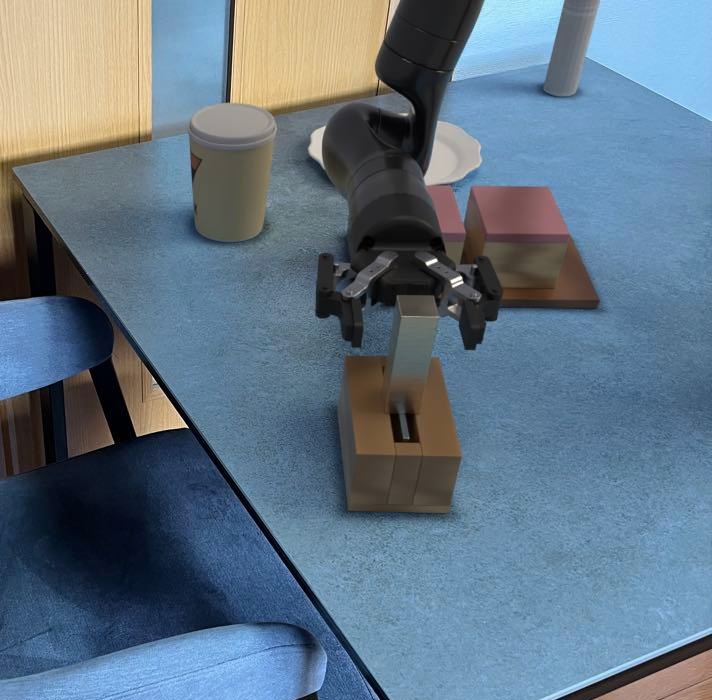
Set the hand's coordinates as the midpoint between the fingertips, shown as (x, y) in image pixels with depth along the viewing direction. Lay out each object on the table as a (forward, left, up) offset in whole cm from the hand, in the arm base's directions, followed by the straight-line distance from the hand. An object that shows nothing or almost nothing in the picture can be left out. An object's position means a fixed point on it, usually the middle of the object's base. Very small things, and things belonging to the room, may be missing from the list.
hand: (415, 339), depth 77 cm
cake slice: (-7, -32, -12) cm, 35 cm away
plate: (-6, -58, -13) cm, 60 cm away
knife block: (0, -1, -13) cm, 13 cm away
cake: (-12, -32, -13) cm, 37 cm away
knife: (0, -1, -12) cm, 12 cm away
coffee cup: (+14, -41, -13) cm, 46 cm away
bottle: (-31, -80, -13) cm, 87 cm away
